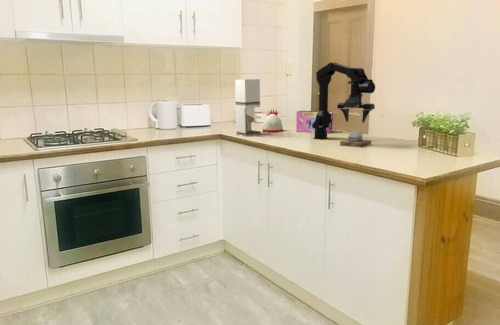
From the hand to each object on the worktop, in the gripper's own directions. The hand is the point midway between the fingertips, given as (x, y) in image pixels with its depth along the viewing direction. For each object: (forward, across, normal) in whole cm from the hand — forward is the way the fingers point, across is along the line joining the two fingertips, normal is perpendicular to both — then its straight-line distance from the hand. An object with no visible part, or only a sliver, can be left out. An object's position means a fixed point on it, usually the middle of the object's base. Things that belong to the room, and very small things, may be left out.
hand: (355, 122), depth 219 cm
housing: (+10, +1, -1) cm, 10 cm away
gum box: (+13, -44, +32) cm, 56 cm away
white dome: (+13, -70, +20) cm, 74 cm away
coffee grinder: (+13, -73, -2) cm, 74 cm away
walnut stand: (+12, +1, -1) cm, 12 cm away
